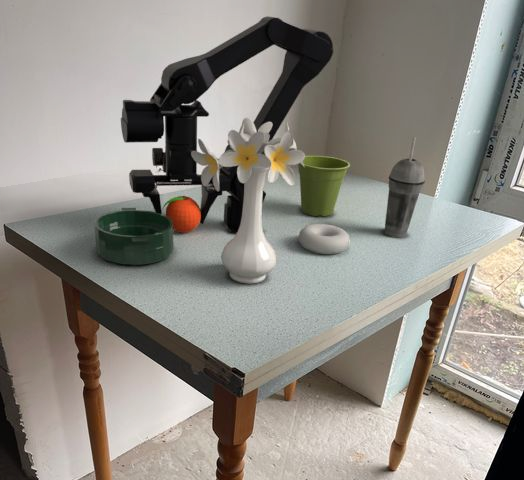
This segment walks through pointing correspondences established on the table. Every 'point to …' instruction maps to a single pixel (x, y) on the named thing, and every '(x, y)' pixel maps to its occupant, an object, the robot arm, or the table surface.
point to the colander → (133, 236)
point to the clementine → (183, 213)
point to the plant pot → (321, 183)
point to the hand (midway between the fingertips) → (181, 224)
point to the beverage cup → (403, 194)
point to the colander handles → (141, 239)
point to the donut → (324, 239)
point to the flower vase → (251, 192)
